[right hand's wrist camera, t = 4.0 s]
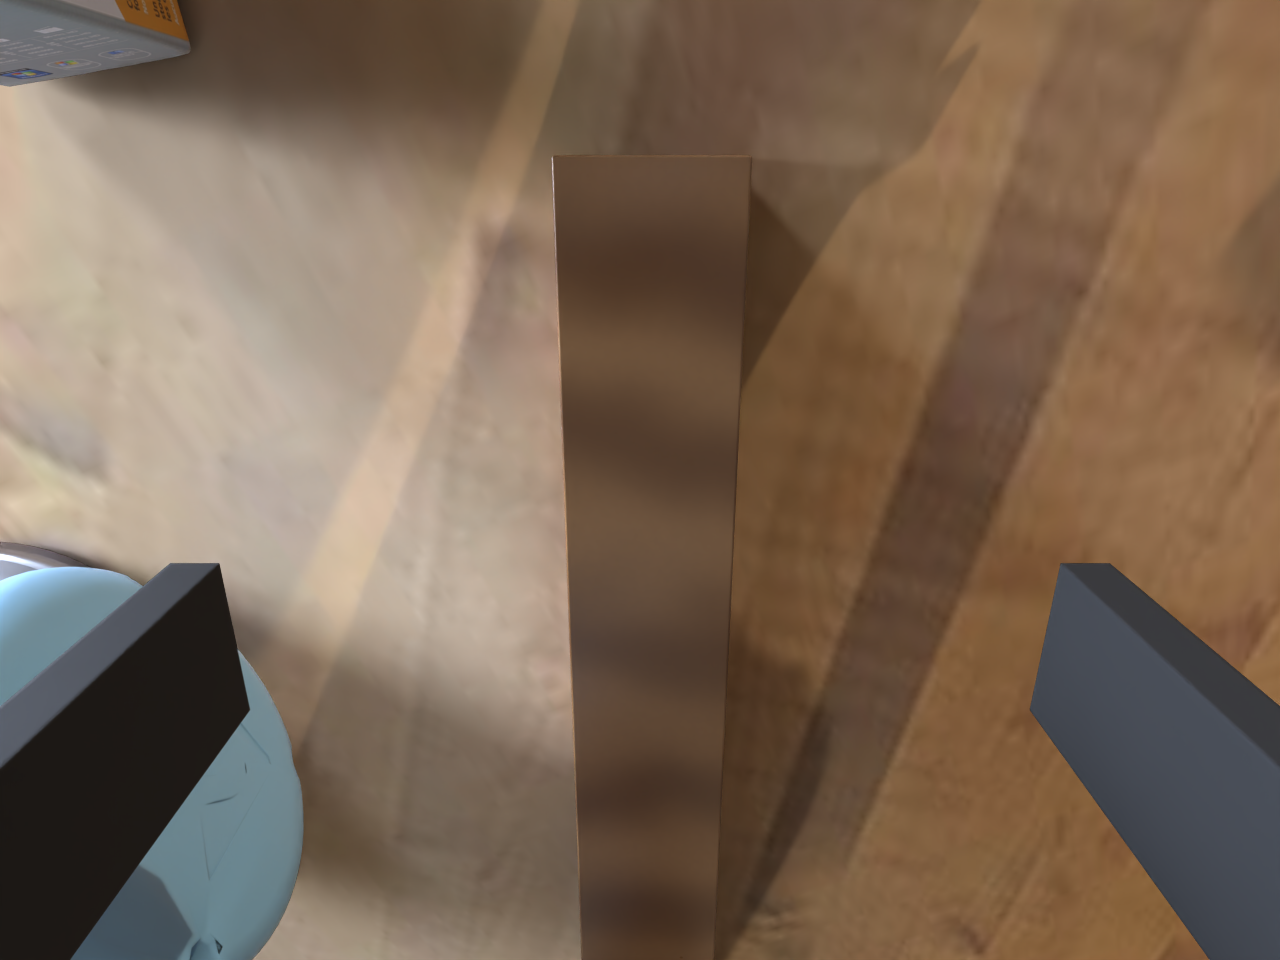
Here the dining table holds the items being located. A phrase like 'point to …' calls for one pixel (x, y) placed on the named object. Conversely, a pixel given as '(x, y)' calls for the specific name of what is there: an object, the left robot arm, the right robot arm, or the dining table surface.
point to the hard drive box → (85, 36)
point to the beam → (649, 529)
